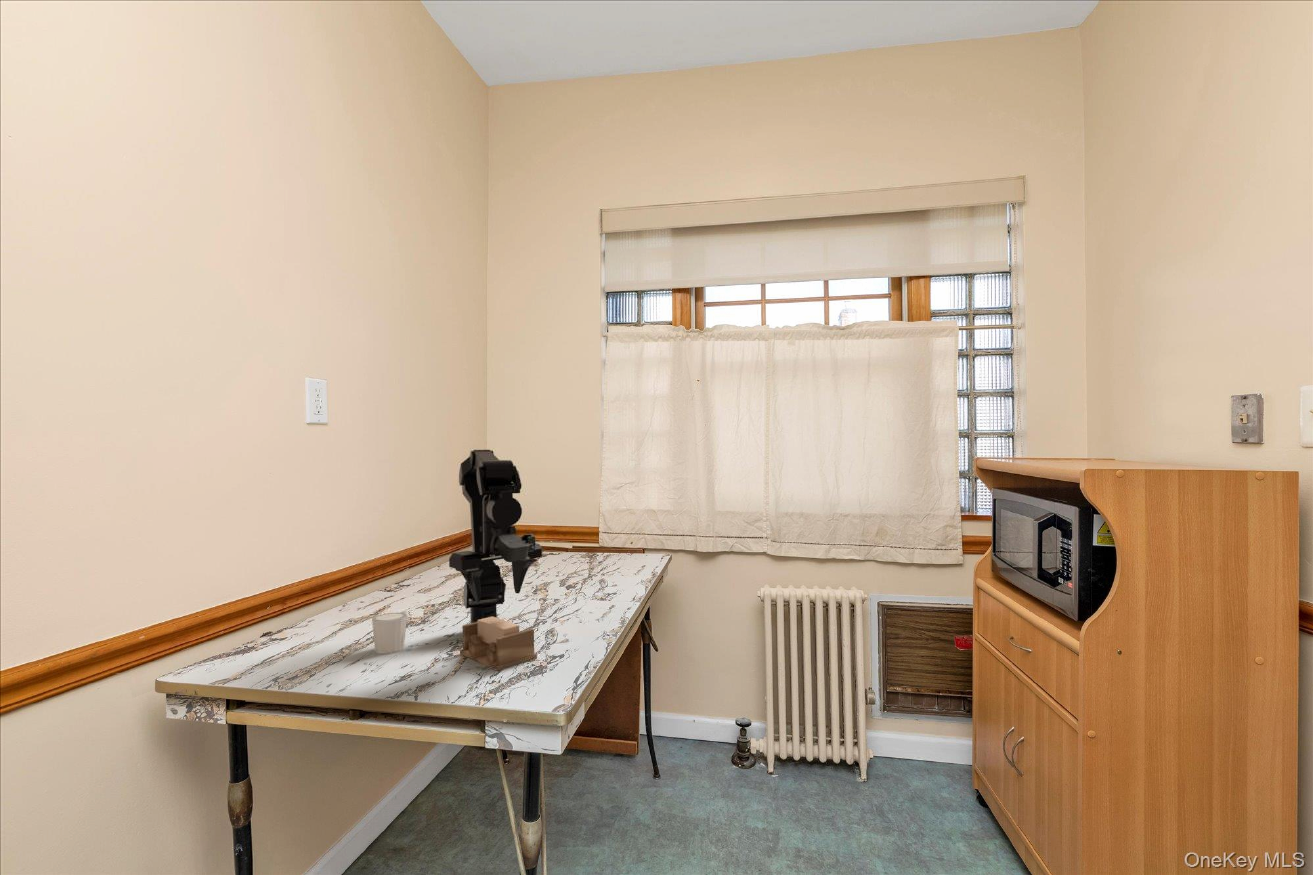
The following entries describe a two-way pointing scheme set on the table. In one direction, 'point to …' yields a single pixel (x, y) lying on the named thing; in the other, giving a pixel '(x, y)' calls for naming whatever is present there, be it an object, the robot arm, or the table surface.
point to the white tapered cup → (389, 632)
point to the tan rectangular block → (495, 629)
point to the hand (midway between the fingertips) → (498, 597)
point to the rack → (498, 648)
